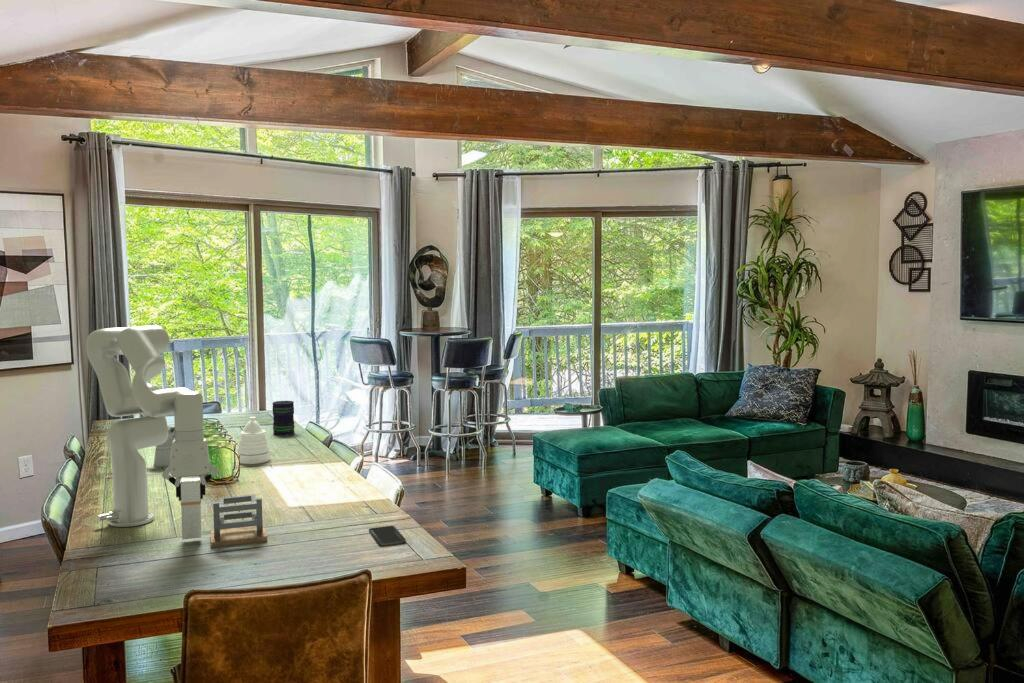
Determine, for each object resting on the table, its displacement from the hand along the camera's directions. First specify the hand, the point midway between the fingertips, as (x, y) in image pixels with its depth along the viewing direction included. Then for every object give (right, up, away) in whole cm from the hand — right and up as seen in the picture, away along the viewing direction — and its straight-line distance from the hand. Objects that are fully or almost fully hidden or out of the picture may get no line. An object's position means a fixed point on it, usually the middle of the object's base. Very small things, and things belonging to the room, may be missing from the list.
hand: (191, 497), depth 230 cm
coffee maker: (-46, -5, +94) cm, 105 cm away
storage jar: (-17, 0, +156) cm, 156 cm away
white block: (0, -11, +1) cm, 11 cm away
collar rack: (+12, -12, +4) cm, 18 cm away
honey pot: (-14, -4, +101) cm, 102 cm away
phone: (+55, -13, +5) cm, 56 cm away
